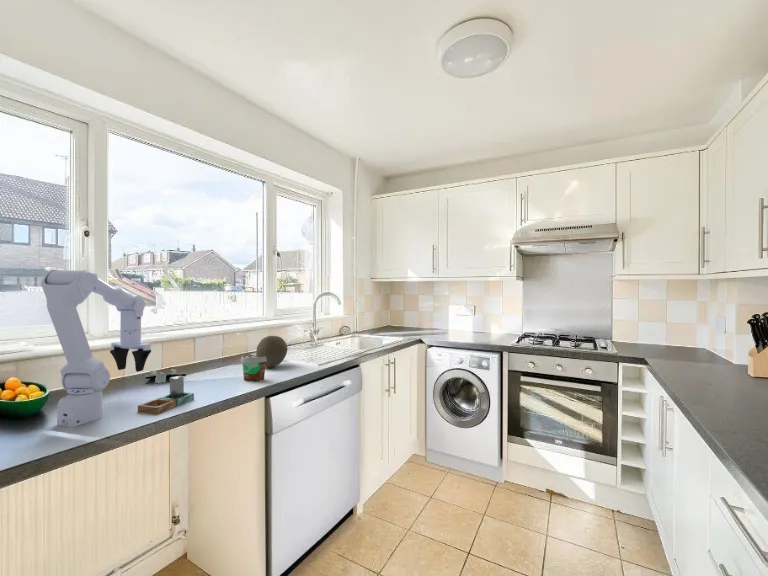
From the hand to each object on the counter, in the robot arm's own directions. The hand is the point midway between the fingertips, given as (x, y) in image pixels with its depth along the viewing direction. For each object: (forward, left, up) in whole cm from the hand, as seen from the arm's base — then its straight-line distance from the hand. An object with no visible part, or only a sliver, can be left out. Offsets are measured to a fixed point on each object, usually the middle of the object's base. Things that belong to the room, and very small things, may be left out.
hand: (130, 370), depth 121 cm
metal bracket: (+25, +12, -11) cm, 30 cm away
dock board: (-3, -18, -10) cm, 21 cm away
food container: (+34, -23, -11) cm, 42 cm away
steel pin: (+1, -18, -9) cm, 20 cm away
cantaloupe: (+57, -19, -11) cm, 61 cm away
